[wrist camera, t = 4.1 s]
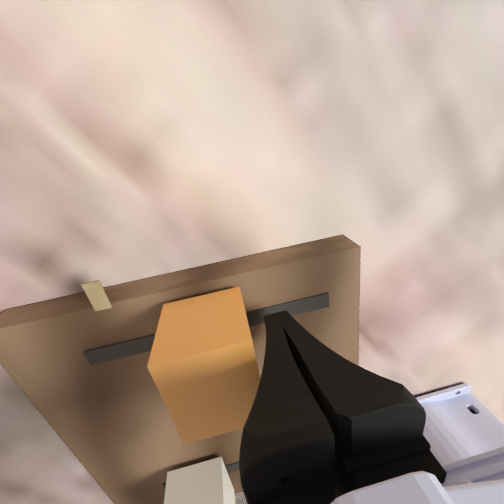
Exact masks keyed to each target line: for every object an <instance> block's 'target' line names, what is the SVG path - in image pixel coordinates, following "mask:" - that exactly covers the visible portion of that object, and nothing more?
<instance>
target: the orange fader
mask: <svg viewBox="0 0 504 504" xmlns="http://www.w3.org/2000/svg"><path fill="white" fill-rule="evenodd" d="M147 368H148V370H149V372H150V374H151V376H152V378H153V380H154V382H155V385H156V387H157V389H158V391H159V393H160V395H161V397H162V399H163V401H164V404H165V406H166V408H167V410H168V412H169V414H170V416H171V418H172V420H173V423H174V425H175V427H176V429H177V431H178V433H179V435H180V437H181V439H182V442H183V444H184V445H185V444H189V443H192V442H196V441H199V440H203V439H207V438H210V437H214V436H217V435H221V434H224V433H228V432H232V431H235V430H239V429H242V428H243V427H244V425H245V423H246V420H247V418H248V415H249V413H250V411H251V408H252V405H253V402H254V399H255V396H256V393H257V390H258V386H259V382H260V374H259V369H258V364H257V360H256V355H255V350H254V346H253V341H252V337H251V332H250V328H249V324H248V320H247V315H246V311H245V307H244V303H243V298H242V294H241V290H240V287H235V288H231V289H227V290H222V291H218V292H214V293H209V294H205V295H201V296H196V297H192V298H188V299H183V300H179V301H175V302H171V303H166V304H163V308H162V311H161V315H160V319H159V323H158V327H157V331H156V334H155V338H154V342H153V346H152V350H151V354H150V357H149V361H148V365H147Z"/></svg>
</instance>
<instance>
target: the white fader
mask: <svg viewBox="0 0 504 504" xmlns="http://www.w3.org/2000/svg"><path fill="white" fill-rule="evenodd" d="M164 504H235V494H234V488H233V486H232V483H231V481H230V478H229V475H228V473H227V470H226V467H225V465H224V462H223V460H222V457H218V458H215V459H211V460H208V461H204V462H201V463H197V464H194V465H190V466H187V467H183V468H180V469H176V470H173V471H170V472H167V480H166V489H165V498H164Z"/></svg>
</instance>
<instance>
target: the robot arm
mask: <svg viewBox="0 0 504 504" xmlns="http://www.w3.org/2000/svg"><path fill="white" fill-rule="evenodd" d="M264 322H265V328H266V348H265V357H264V363H263V369H262V374H261V378H260V382H259V386H258V390H257V393H256V396H255V399H254V402H253V405H252V408H251V411H250V413H249V415H248V418H247V420H246V423H245V425H244V427H243V432H242V438H241V445H240V453H239V471H240V479H241V486H242V489H243V492H244V495H245V497H246V500H247V503H248V504H504V424H503V423H502V422H501V421H500V420H499V419H498V418H497V417H496V416H495V415H494V414H492V413H491V412H490V411H489V410H488V409H487V408H486V407H485V406H484V405H483V404H482V403H481V402H480V401H479V400H478V399H477V398H476V397H475V396H473V395H472V394H471V390H472V387H471V386H470V385H469V384H468V383H464V384H461V385H457V386H454V387H450V388H447V389H443V390H440V391H436V392H433V393H429V394H426V395H422V396H419V397H414V396H413V395H412V394H411V393H410V392H409V391H408V390H407V389H406V388H405V387H404V386H403V385H402V384H399V383H397V382H394V381H392V380H389V379H386V378H384V377H381V376H379V375H377V374H374V373H372V372H370V371H368V370H366V369H364V368H362V367H360V366H358V365H356V364H354V363H352V362H350V361H349V360H347V359H345V358H344V357H342V356H340V355H339V354H337V353H336V352H334V351H333V350H331V349H330V348H328V347H327V346H326V345H324V344H323V343H322V342H320V341H319V340H318V339H317V338H315V337H314V336H313V335H312V334H311V333H309V332H308V331H307V330H306V329H305V328H304V327H303V326H302V325H301V324H300V323H298V322H297V321H296V320H295V319H294V317H293V316H292V315H291V314H290V313H289V312H288V311H286V310H285V311H281V312H277V313H273V314H269V315H265V316H264Z"/></svg>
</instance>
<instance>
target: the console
mask: <svg viewBox="0 0 504 504" xmlns="http://www.w3.org/2000/svg"><path fill="white" fill-rule="evenodd" d="M360 249H361V247H360V246H359V245H357V244H356V243H354V242H353V241H352V240H350V239H349V238H347V237H346V236H344V235H339V236H335V237H330V238H326V239H321V240H317V241H312V242H308V243H303V244H299V245H294V246H290V247H285V248H281V249H276V250H272V251H267V252H263V253H258V254H254V255H249V256H245V257H240V258H236V259H231V260H227V261H222V262H218V263H213V264H209V265H204V266H200V267H195V268H191V269H186V270H182V271H177V272H173V273H168V274H164V275H159V276H155V277H150V278H146V279H141V280H137V281H132V282H128V283H123V284H119V285H114V286H109V287H105V288H103V287H102V285H101V283H100V281H99V280H98V281H93V282H89V283H84V284H82V287H83V289H84V291H85V292H82V293H78V294H73V295H69V296H64V297H60V298H55V299H51V300H46V301H42V302H37V303H33V304H28V305H24V306H19V307H15V308H10V309H6V310H5V311H4V312H2V313H1V314H0V363H1V364H2V366H3V367H4V368H5V369H6V371H7V372H8V373H9V374H10V375H11V377H12V378H13V379H14V380H15V382H16V383H17V384H18V385H19V387H20V388H21V389H22V390H23V392H24V393H25V394H26V395H27V397H28V398H29V399H30V400H31V401H32V403H33V404H34V405H35V406H36V408H37V409H38V410H39V411H40V413H41V414H42V415H43V416H44V418H45V419H46V420H47V421H48V422H49V424H50V425H51V426H52V427H53V429H54V430H55V431H56V432H57V434H58V435H59V436H60V437H61V439H62V440H63V441H64V442H65V444H66V445H67V446H68V447H69V448H70V450H71V451H72V452H73V453H74V455H75V456H76V457H77V458H78V460H79V461H80V462H81V463H82V465H83V466H84V467H85V468H86V470H87V471H88V472H89V473H90V474H91V476H92V477H93V478H94V479H95V481H96V482H97V483H98V484H99V486H100V487H101V488H102V489H103V491H104V492H105V493H106V494H107V495H108V497H109V498H110V499H111V500H112V502H113V503H114V504H164V498H165V489H166V480H167V472H170V471H173V470H176V469H180V468H183V467H187V466H190V465H194V464H197V463H201V462H204V461H208V460H211V459H215V458H218V457H222V460H223V462H224V465H225V467H226V470H227V473H228V475H229V478H230V481H231V483H232V486H233V488H234V494H237V493H240V492H243V489H242V486H241V479H240V471H239V453H240V445H241V438H242V432H243V428H242V429H239V430H235V431H232V432H228V433H224V434H221V435H217V436H214V437H210V438H207V439H203V440H199V441H196V442H192V443H189V444H185V445H184V444H183V442H182V439H181V437H180V435H179V433H178V431H177V429H176V427H175V425H174V423H173V420H172V418H171V416H170V414H169V412H168V410H167V408H166V406H165V404H164V401H163V399H162V397H161V395H160V393H159V391H158V389H157V387H156V385H155V382H154V380H153V378H152V376H151V374H150V372H149V370H148V368H147V365H148V361H149V357H150V354H151V350H152V346H153V342H154V338H155V334H156V331H157V327H158V323H159V319H160V315H161V311H162V308H163V304H166V303H171V302H175V301H179V300H183V299H188V298H192V297H196V296H201V295H205V294H209V293H214V292H218V291H222V290H227V289H231V288H235V287H240V290H241V294H242V298H243V303H244V307H245V311H246V315H247V320H248V324H249V328H250V332H251V337H252V341H253V346H254V350H255V355H256V360H257V364H258V369H259V374H260V378H261V374H262V369H263V363H264V357H265V348H266V328H265V322H264V316H265V315H269V314H273V313H277V312H281V311H285V310H286V311H288V312H289V313H290V314H291V315H292V316H293V317H294V319H295V320H296V321H297V322H298V323H300V324H301V325H302V326H303V327H304V328H305V329H306V330H307V331H308V332H309V333H311V334H312V335H313V336H314V337H315V338H317V339H318V340H319V341H320V342H322V343H323V344H324V345H326V346H327V347H328V348H330V349H331V350H333V351H334V352H336V353H337V354H339V355H340V356H342V357H344V358H345V359H347V360H349V361H350V362H352V363H354V364H356V365H358V356H359V303H360Z"/></svg>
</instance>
